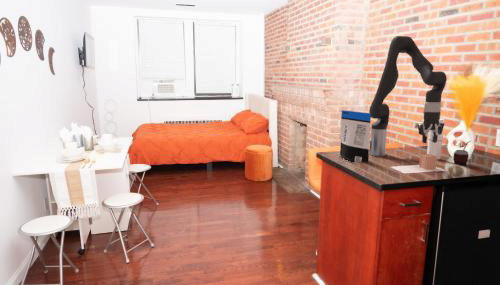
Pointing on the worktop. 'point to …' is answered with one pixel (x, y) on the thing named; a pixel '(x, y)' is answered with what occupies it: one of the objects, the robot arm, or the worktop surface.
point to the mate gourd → (461, 156)
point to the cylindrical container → (435, 147)
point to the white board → (414, 169)
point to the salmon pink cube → (428, 161)
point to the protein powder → (355, 136)
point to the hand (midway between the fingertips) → (429, 142)
